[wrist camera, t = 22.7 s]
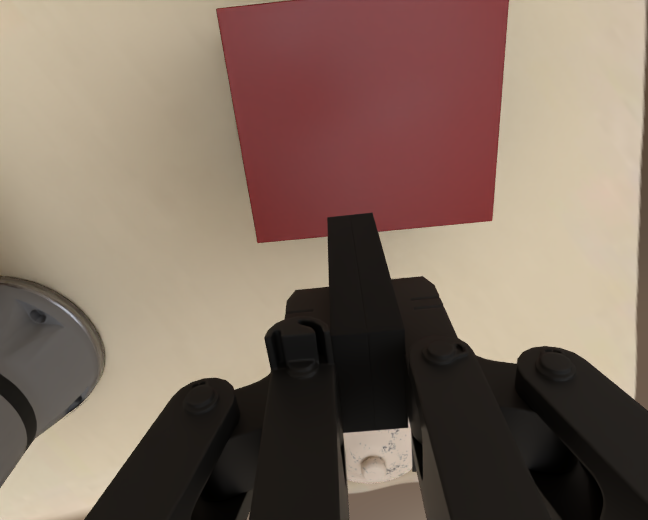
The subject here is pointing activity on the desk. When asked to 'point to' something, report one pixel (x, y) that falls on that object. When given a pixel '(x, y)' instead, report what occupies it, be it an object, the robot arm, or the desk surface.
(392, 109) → the red box lid
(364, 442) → the teacup with lid
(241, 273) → the desk surface
